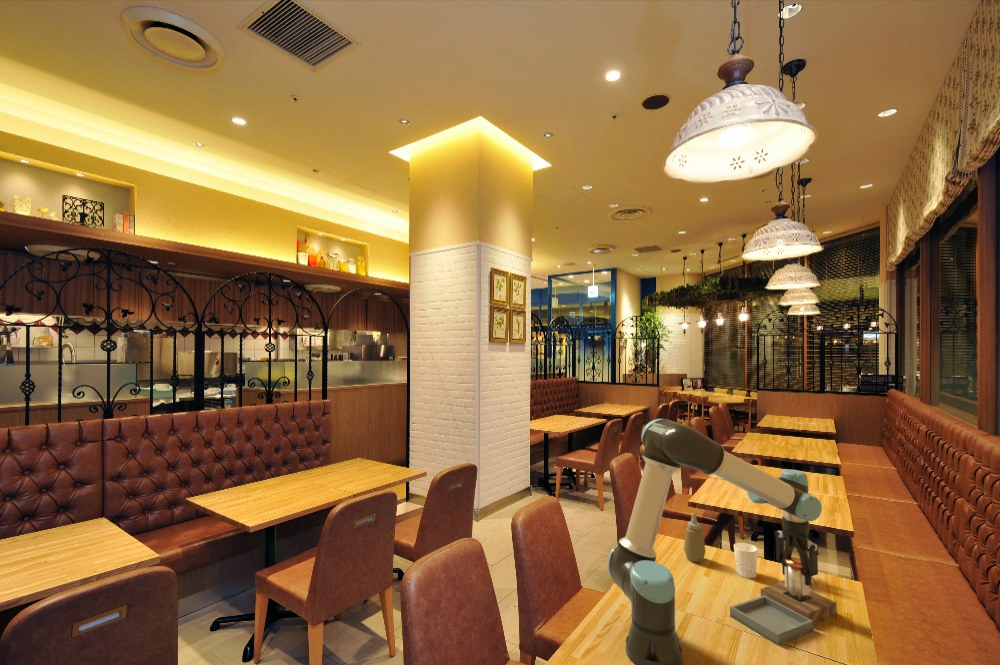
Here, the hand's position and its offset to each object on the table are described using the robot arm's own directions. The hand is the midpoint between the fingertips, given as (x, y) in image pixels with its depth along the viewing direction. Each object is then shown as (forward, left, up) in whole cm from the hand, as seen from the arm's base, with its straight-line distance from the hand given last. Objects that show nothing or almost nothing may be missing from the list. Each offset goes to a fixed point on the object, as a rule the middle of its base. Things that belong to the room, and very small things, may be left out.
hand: (797, 589), depth 154 cm
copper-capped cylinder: (0, 0, -6) cm, 6 cm away
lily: (+19, +10, -6) cm, 22 cm away
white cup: (+5, +23, -6) cm, 24 cm away
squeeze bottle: (-3, +40, -6) cm, 41 cm away
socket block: (0, 0, -6) cm, 6 cm away
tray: (-16, -2, -6) cm, 17 cm away
